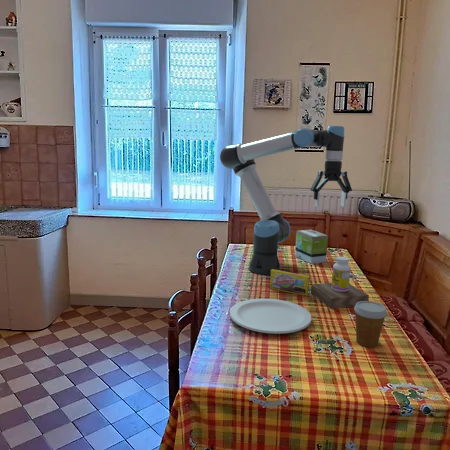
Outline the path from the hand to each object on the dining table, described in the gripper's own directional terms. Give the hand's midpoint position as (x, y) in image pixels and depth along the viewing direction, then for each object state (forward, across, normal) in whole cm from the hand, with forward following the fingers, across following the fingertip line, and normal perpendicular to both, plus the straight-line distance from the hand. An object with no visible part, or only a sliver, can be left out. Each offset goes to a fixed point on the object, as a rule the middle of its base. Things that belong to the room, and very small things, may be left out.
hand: (329, 206), depth 194 cm
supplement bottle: (+28, +13, +34) cm, 46 cm away
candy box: (+32, +29, +22) cm, 48 cm away
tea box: (+32, -3, -21) cm, 38 cm away
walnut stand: (+32, +13, +34) cm, 48 cm away
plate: (+32, +47, +46) cm, 73 cm away
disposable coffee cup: (+32, +24, +69) cm, 80 cm away
